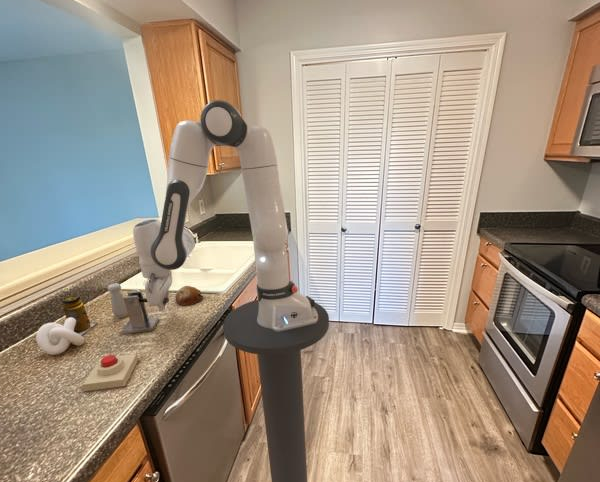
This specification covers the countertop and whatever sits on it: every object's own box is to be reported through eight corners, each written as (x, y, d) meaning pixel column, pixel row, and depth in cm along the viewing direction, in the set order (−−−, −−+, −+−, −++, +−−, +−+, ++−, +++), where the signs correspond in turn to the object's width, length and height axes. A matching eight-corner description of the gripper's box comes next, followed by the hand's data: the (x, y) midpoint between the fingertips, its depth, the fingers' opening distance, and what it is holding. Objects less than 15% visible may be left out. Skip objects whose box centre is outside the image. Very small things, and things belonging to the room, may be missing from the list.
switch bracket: (158, 319, 119) (151, 288, 114) (153, 330, 112) (144, 297, 107) (130, 322, 118) (121, 291, 113) (122, 334, 111) (112, 300, 106)
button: (119, 359, 91) (117, 354, 90) (114, 366, 88) (112, 361, 87) (105, 360, 91) (103, 355, 90) (100, 368, 87) (98, 363, 87)
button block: (138, 359, 97) (135, 348, 95) (125, 386, 86) (121, 373, 84) (103, 363, 96) (99, 352, 94) (84, 391, 85) (80, 379, 83)
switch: (167, 302, 116) (168, 296, 115) (164, 309, 111) (165, 302, 111) (131, 298, 113) (131, 292, 112) (126, 304, 109) (127, 298, 108)
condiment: (96, 323, 119) (86, 293, 114) (81, 335, 111) (70, 304, 106) (77, 324, 119) (66, 294, 114) (61, 336, 111) (49, 305, 107)
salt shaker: (134, 313, 125) (125, 282, 120) (121, 320, 120) (111, 288, 115) (123, 311, 128) (115, 280, 122) (110, 317, 123) (100, 286, 118)
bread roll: (188, 302, 140) (177, 287, 138) (207, 293, 138) (196, 277, 135) (179, 313, 131) (167, 297, 129) (200, 303, 129) (188, 287, 126)
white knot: (97, 339, 108) (89, 316, 105) (64, 361, 98) (54, 335, 94) (72, 335, 111) (63, 312, 108) (37, 356, 101) (26, 331, 97)
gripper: (158, 279, 99) (167, 319, 105) (171, 259, 118) (179, 293, 123) (136, 281, 98) (146, 321, 104) (153, 260, 117) (161, 295, 122)
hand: (164, 306), depth 114 cm, fingers closed on switch, 5 cm apart
